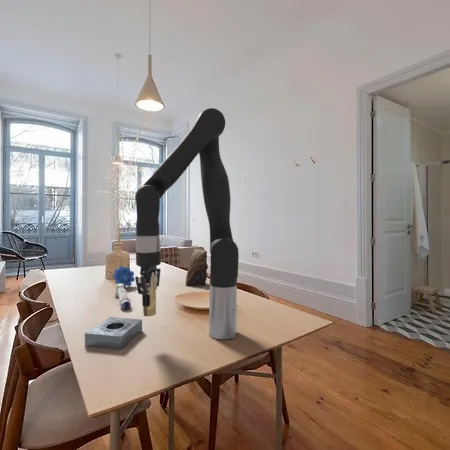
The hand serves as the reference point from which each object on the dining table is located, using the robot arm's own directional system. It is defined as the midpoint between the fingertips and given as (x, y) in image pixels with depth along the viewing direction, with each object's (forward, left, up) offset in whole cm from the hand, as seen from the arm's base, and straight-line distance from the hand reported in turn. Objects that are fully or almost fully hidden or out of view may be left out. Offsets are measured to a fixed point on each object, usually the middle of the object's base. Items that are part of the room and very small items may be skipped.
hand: (149, 303), depth 90 cm
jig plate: (+12, -1, -13) cm, 18 cm away
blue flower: (+41, -59, -13) cm, 73 cm away
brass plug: (0, 0, -3) cm, 3 cm away
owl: (+6, -76, -13) cm, 77 cm away
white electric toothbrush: (+30, -37, -13) cm, 49 cm away
